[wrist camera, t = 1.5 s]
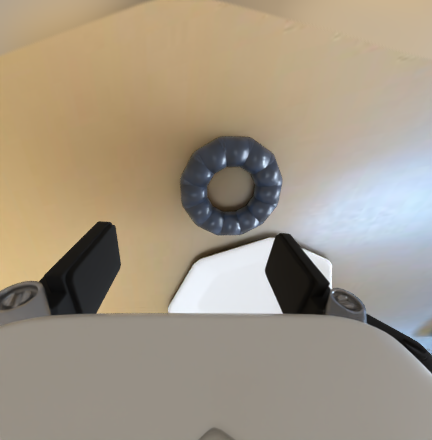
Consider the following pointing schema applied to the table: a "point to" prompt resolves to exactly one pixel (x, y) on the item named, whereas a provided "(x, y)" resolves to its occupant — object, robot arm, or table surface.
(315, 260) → the plate
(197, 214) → the ring
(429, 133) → the table surface
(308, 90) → the table surface
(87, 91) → the table surface
